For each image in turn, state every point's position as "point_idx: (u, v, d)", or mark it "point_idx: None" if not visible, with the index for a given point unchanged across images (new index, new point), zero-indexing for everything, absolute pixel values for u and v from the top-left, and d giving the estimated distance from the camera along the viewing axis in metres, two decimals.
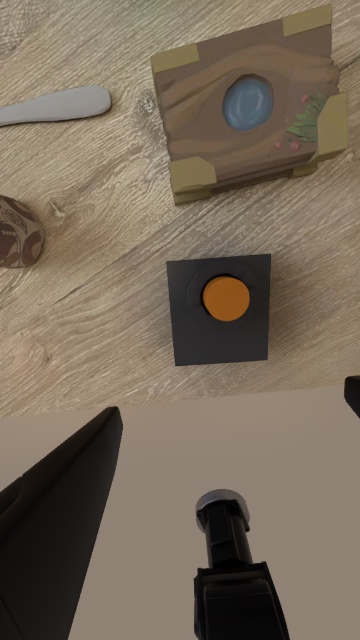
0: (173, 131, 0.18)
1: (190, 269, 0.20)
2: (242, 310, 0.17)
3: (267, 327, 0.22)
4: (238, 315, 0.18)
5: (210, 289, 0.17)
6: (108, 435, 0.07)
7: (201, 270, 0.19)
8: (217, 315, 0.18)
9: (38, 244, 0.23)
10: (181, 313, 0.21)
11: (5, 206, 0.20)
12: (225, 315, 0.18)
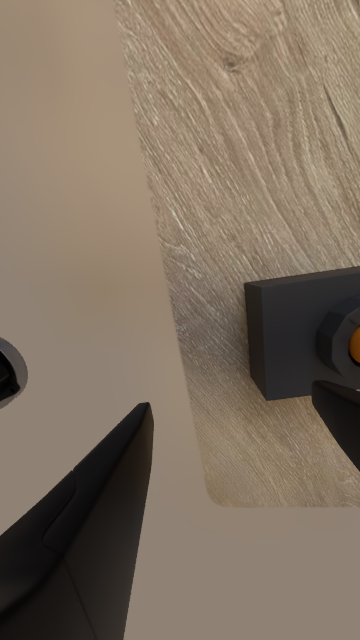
0: None
1: None
2: None
3: (308, 394, 0.18)
4: None
5: None
6: (145, 430, 0.07)
7: None
8: None
9: None
10: (338, 290, 0.16)
11: None
12: None
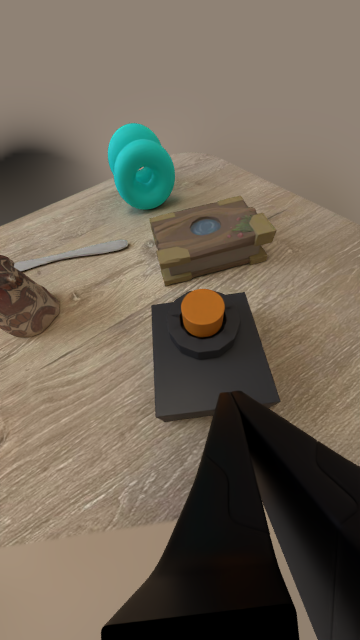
0: (160, 239, 0.28)
1: None
2: (219, 312, 0.17)
3: (264, 357, 0.18)
4: (215, 318, 0.17)
5: (184, 298, 0.18)
6: None
7: (179, 298, 0.20)
8: (193, 319, 0.17)
9: (50, 316, 0.27)
10: (164, 348, 0.20)
11: (38, 285, 0.27)
12: (202, 319, 0.17)
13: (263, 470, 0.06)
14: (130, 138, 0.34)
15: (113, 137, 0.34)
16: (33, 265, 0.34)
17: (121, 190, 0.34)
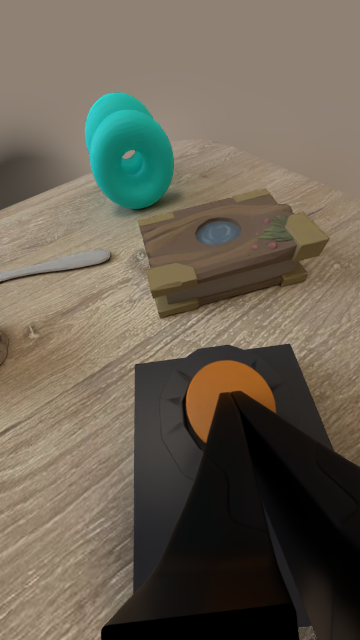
0: (153, 252, 0.19)
1: (170, 372, 0.13)
2: None
3: None
4: None
5: (192, 382, 0.09)
6: None
7: (182, 364, 0.11)
8: None
9: None
10: (155, 457, 0.11)
11: None
12: None
13: (263, 470, 0.06)
14: (113, 113, 0.25)
15: (91, 111, 0.25)
16: None
17: (101, 182, 0.25)
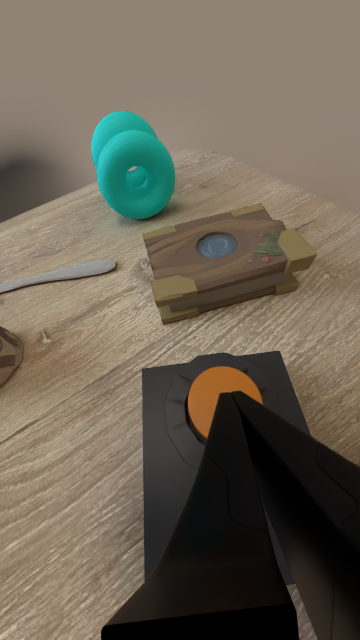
0: (156, 264, 0.21)
1: (173, 376, 0.15)
2: None
3: None
4: None
5: (193, 385, 0.11)
6: None
7: (184, 369, 0.13)
8: None
9: (7, 369, 0.20)
10: (161, 449, 0.13)
11: None
12: None
13: (263, 470, 0.06)
14: (118, 130, 0.27)
15: (97, 129, 0.27)
16: None
17: (107, 196, 0.27)
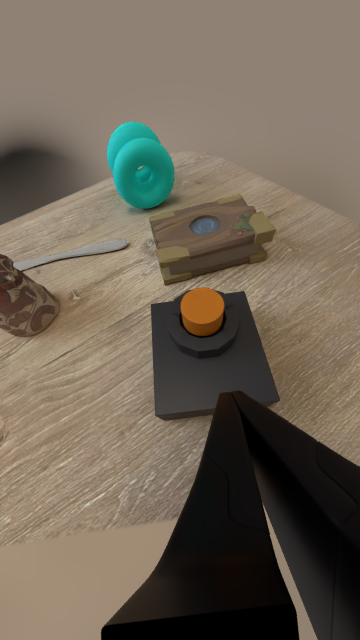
0: (160, 238, 0.28)
1: None
2: (218, 311, 0.17)
3: (264, 356, 0.18)
4: (215, 317, 0.17)
5: (184, 297, 0.18)
6: None
7: (179, 297, 0.20)
8: (193, 318, 0.17)
9: (50, 315, 0.27)
10: (164, 347, 0.20)
11: (37, 284, 0.27)
12: (201, 318, 0.17)
13: (263, 470, 0.06)
14: (129, 137, 0.34)
15: (112, 136, 0.34)
16: (33, 264, 0.34)
17: (120, 189, 0.34)
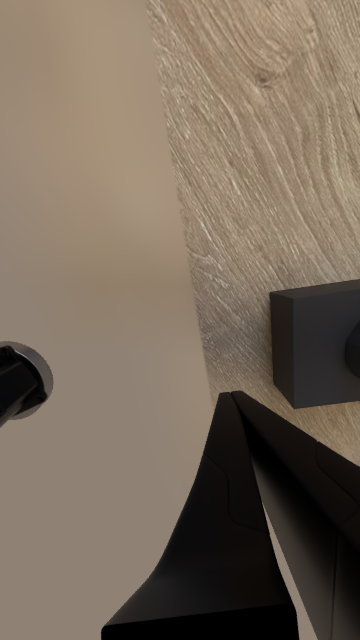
0: None
1: None
2: None
3: (336, 402, 0.19)
4: None
5: None
6: None
7: None
8: None
9: None
10: None
11: None
12: None
13: (263, 470, 0.06)
14: None
15: None
16: None
17: None
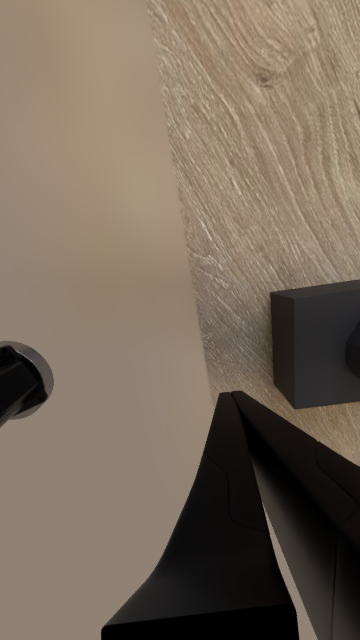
0: None
1: None
2: None
3: (336, 403, 0.18)
4: None
5: None
6: None
7: None
8: None
9: None
10: None
11: None
12: None
13: (263, 470, 0.06)
14: None
15: None
16: None
17: None
